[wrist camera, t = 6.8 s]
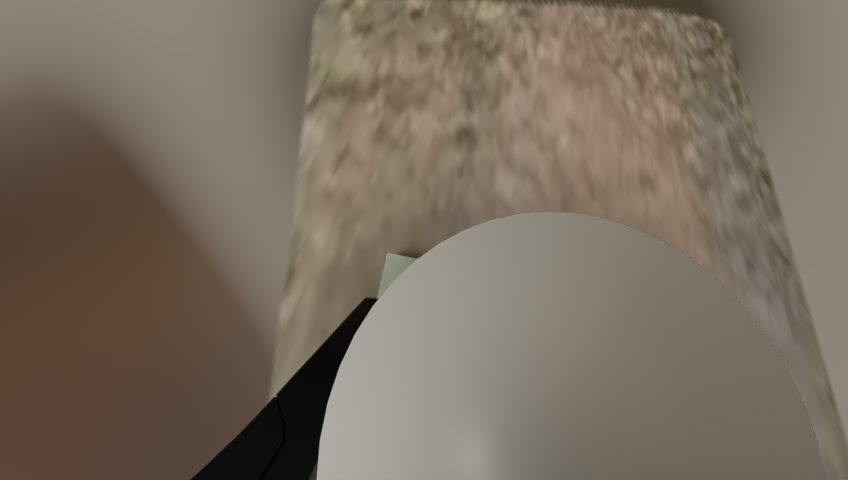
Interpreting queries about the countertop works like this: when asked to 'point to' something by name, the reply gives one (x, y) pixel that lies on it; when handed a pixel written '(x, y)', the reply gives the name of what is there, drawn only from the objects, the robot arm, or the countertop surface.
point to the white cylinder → (562, 367)
